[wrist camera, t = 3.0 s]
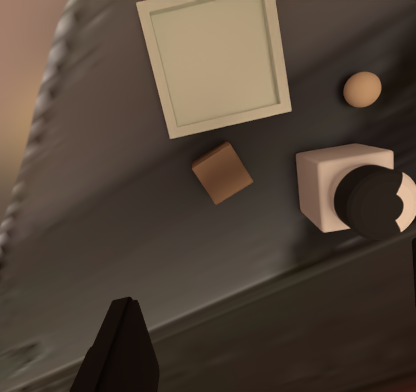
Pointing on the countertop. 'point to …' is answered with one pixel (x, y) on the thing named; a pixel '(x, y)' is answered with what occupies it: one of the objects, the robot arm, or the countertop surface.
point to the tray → (215, 61)
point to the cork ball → (362, 89)
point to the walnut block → (221, 172)
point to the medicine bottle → (355, 191)
